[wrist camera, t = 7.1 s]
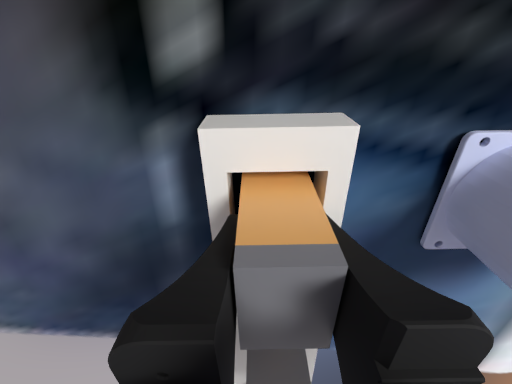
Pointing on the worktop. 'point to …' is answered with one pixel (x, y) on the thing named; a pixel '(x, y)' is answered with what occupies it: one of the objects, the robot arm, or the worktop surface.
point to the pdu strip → (276, 160)
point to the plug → (285, 264)
